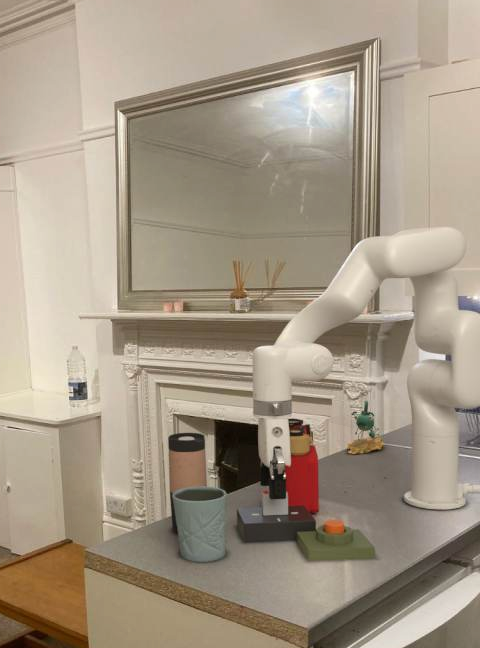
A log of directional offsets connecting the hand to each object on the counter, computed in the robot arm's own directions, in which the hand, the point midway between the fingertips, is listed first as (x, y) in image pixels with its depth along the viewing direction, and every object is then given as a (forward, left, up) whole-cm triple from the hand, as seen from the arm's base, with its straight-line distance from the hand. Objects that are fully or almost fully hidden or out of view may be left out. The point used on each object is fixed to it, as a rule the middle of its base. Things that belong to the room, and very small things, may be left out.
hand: (272, 492), depth 163 cm
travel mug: (+17, -4, -9) cm, 19 cm away
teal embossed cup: (+16, +10, -9) cm, 21 cm away
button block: (-9, +11, -9) cm, 17 cm away
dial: (0, 0, -5) cm, 5 cm away
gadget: (0, 0, -9) cm, 9 cm away
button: (-9, +11, -5) cm, 15 cm away
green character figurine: (-39, -68, -9) cm, 79 cm away
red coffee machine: (-7, -16, -9) cm, 20 cm away
